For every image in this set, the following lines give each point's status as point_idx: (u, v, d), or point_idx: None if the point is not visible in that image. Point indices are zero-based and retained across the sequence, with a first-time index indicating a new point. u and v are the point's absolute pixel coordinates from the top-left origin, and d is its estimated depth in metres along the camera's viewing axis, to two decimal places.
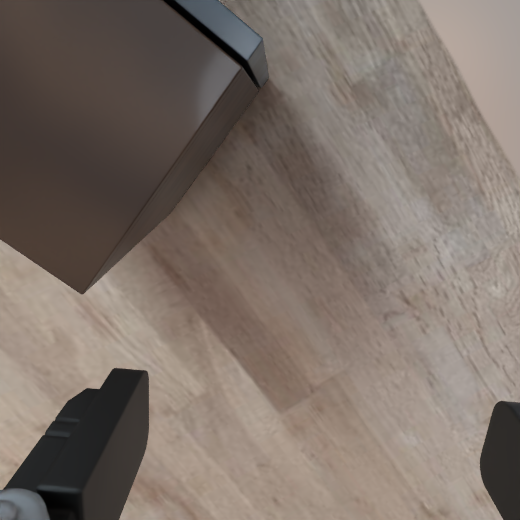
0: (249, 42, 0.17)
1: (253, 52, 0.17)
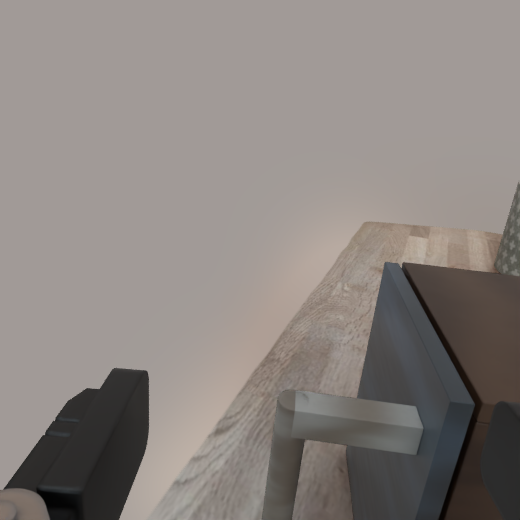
0: (391, 264, 0.33)
1: (393, 263, 0.33)
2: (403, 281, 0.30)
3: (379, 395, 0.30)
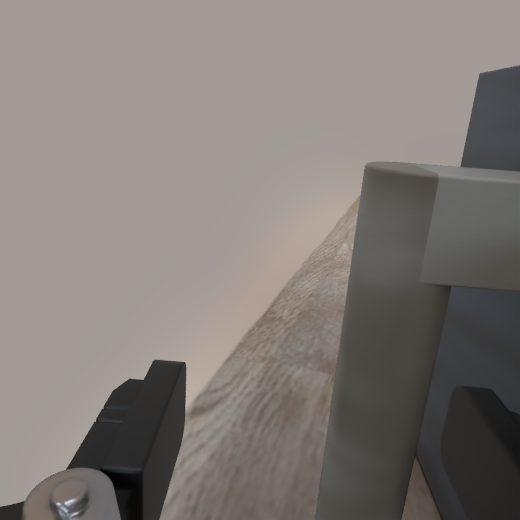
0: None
1: None
2: None
3: None
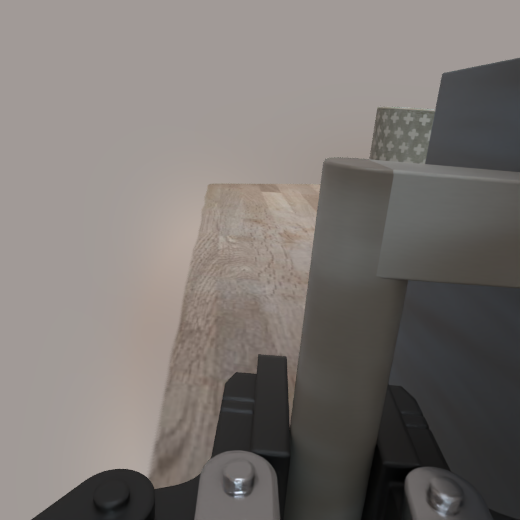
0: None
1: None
2: None
3: None
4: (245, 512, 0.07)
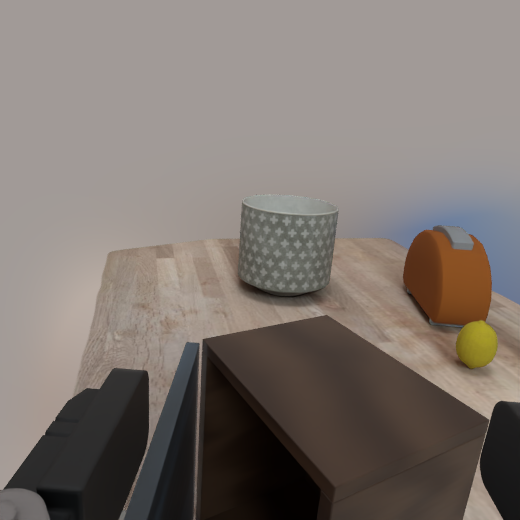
0: (191, 344, 0.34)
1: (194, 343, 0.34)
2: (186, 366, 0.31)
3: None
4: None
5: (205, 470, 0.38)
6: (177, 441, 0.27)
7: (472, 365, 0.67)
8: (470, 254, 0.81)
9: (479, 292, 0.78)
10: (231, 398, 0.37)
